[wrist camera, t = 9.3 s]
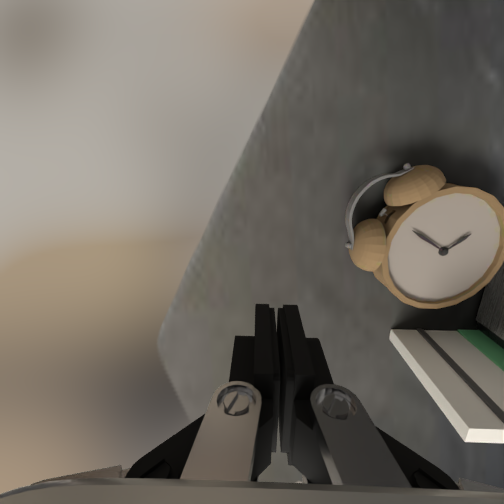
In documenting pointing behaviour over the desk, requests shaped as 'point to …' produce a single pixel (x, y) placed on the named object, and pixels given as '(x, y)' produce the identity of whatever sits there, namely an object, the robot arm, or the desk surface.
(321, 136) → the desk surface
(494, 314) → the grey t-shaped piece
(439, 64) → the desk surface
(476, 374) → the board
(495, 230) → the alarm clock
